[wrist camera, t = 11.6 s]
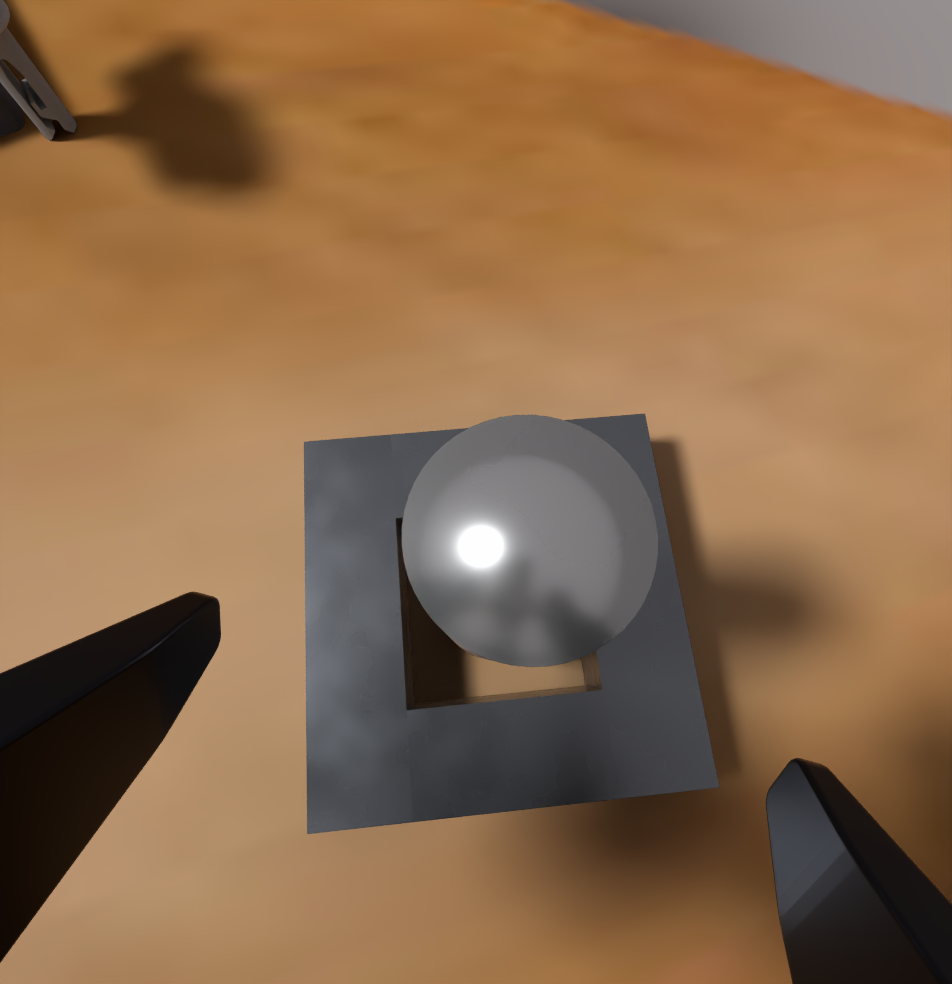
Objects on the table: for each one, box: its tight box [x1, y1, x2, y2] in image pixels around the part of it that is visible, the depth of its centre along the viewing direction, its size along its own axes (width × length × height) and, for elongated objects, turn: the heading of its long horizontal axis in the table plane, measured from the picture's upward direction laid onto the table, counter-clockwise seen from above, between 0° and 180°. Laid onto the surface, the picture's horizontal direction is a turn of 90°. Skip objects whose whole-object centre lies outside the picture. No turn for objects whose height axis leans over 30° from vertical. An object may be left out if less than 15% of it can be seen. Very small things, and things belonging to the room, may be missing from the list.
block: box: [304, 414, 719, 834], centre depth 19 cm, size 12×12×2 cm
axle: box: [402, 415, 658, 667], centre depth 14 cm, size 4×4×13 cm
